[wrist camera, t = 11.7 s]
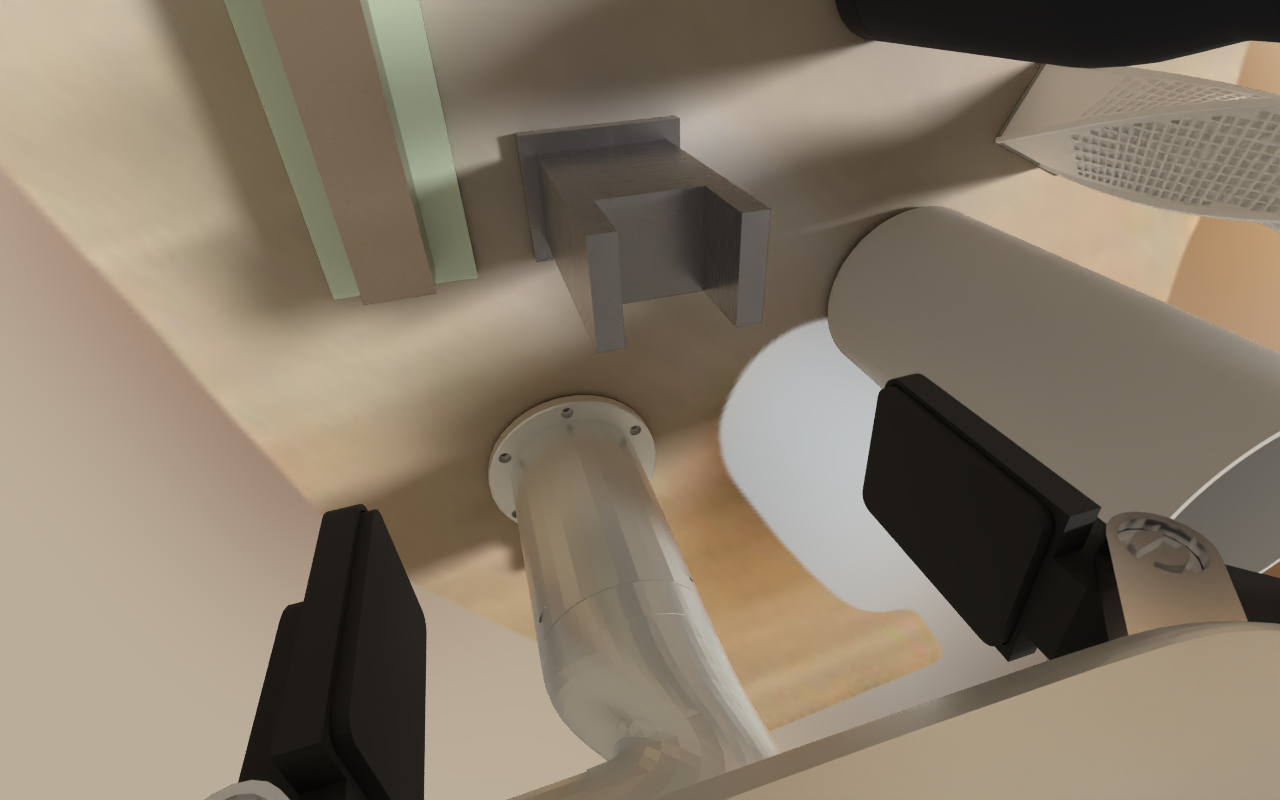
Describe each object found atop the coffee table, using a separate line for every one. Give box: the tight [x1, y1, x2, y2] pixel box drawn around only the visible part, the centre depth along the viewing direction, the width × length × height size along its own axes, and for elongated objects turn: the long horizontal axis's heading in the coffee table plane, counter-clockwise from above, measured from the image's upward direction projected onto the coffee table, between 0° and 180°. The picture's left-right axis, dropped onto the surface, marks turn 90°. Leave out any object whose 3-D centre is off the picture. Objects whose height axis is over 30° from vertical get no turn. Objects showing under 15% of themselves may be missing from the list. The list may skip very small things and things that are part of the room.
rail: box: [261, 0, 436, 305], centre depth 26 cm, size 24×4×4 cm, turn 2°
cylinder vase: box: [828, 206, 1280, 573], centre depth 36 cm, size 12×12×25 cm
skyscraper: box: [994, 64, 1280, 233], centre depth 30 cm, size 8×8×28 cm
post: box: [516, 116, 771, 353], centre depth 30 cm, size 7×9×14 cm
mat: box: [224, 0, 478, 300], centre depth 28 cm, size 26×8×1 cm, turn 2°
